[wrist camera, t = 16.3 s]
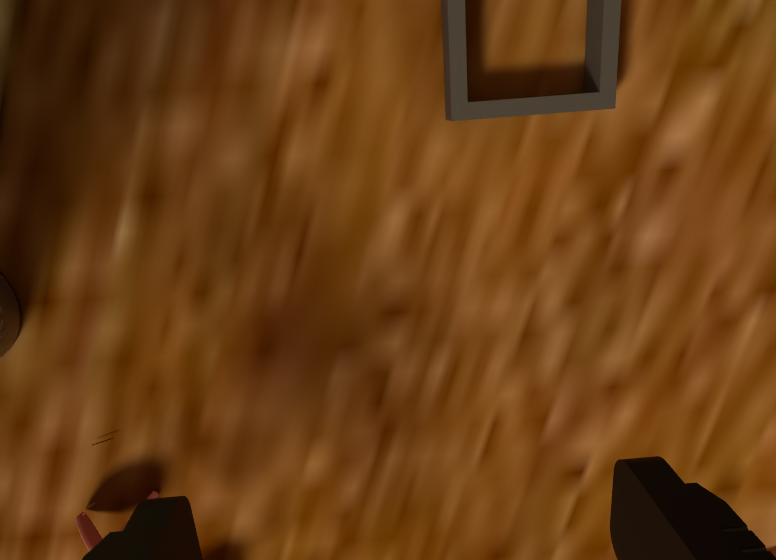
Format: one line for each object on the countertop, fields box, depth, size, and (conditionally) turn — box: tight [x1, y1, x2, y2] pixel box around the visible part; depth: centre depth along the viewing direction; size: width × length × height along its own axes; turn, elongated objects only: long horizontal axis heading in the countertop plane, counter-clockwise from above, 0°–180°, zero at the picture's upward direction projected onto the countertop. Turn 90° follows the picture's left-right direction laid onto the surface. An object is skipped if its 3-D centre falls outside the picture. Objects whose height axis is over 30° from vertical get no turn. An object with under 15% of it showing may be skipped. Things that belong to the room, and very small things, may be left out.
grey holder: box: [441, 0, 621, 121], centre depth 32 cm, size 10×10×2 cm
